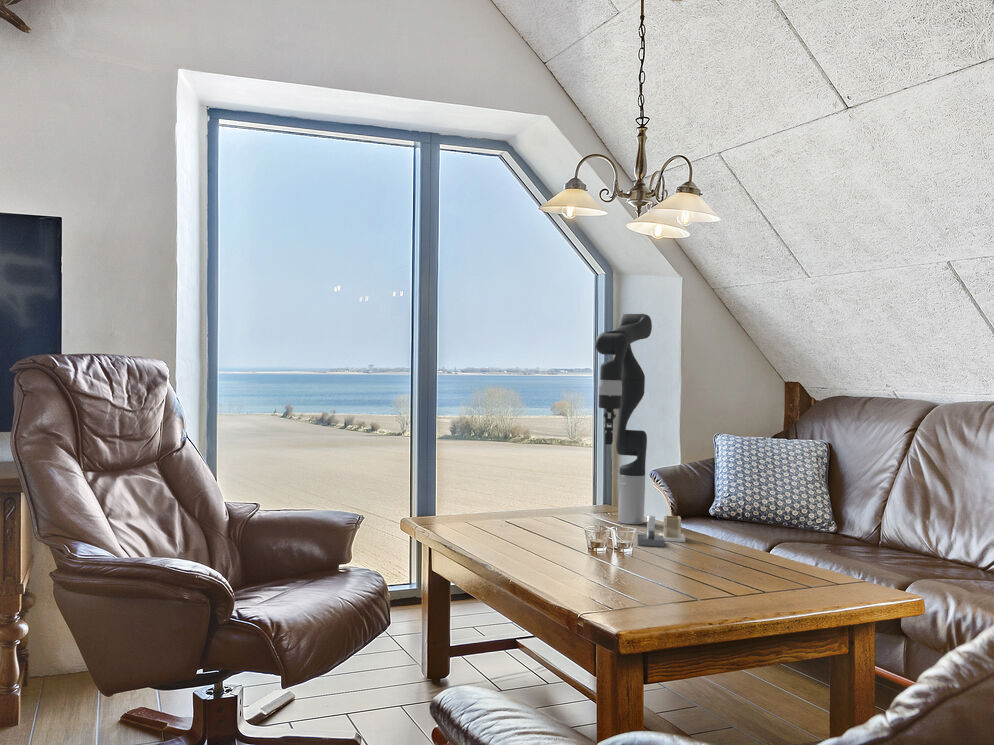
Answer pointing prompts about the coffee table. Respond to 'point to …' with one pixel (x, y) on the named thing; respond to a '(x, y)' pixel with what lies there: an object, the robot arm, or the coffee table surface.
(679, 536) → the beige upright block
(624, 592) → the coffee table surface
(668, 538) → the tile
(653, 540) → the pin stand
